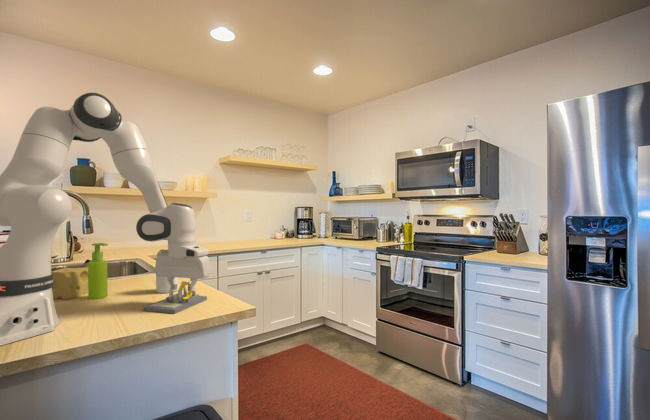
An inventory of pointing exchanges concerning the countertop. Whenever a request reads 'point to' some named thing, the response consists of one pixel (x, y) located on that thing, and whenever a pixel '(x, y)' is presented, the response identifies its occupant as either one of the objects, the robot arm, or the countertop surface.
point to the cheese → (70, 282)
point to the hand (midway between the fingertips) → (182, 290)
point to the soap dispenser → (97, 274)
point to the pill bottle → (164, 284)
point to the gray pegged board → (176, 302)
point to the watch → (183, 287)
